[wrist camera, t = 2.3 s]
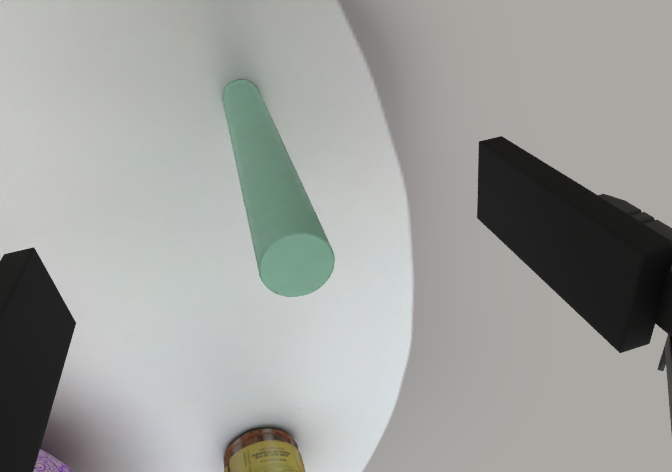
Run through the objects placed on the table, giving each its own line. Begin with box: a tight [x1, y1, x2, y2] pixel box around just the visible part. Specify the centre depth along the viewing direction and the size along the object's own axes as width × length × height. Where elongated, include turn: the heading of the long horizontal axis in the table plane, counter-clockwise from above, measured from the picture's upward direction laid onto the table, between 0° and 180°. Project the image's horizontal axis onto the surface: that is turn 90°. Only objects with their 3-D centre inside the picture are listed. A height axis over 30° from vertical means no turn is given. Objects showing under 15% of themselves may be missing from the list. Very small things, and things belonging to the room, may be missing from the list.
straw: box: [223, 80, 335, 297], centre depth 20 cm, size 2×2×16 cm
